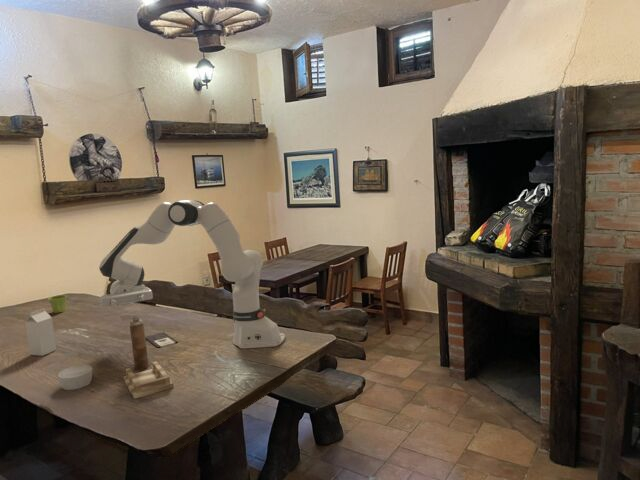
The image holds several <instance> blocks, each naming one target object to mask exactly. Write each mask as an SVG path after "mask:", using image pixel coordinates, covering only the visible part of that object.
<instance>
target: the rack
mask: <svg viewBox="0 0 640 480" xmlns="http://www.w3.org/2000/svg"><path fill="white" fill-rule="evenodd" d="M125 373H126V374H125V376H123V381H124V383H125V385H126V386H127V389H128V391H129V392H130V394H131V395H132V397H133V399H138V398H141V397H146V396H149V395H152V394H156V393H159V392H163V391H166V390H169V389H173V388H174V387H175V385H174V382H173V381H172V380H171V378H170V376H169V375H168V374H167V372H166V371H165V370H164V368H163V367H162V366H161V365H160V364H159V362H158V361H153V362H152V369H147V370H144V371H140V372H136V373H134V372H133V371H132V369H131V368H130V367H129V368H126V369H125Z"/></svg>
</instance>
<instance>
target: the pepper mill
mask: <svg viewBox="0 0 640 480" xmlns="http://www.w3.org/2000/svg"><path fill="white" fill-rule="evenodd" d="M129 323H130V325H129V330H130V339H131V350H132V356H133V364H134V369H135V371H137V370H139V371H141V370H144V369H145V370H146V369H147V368H149V358H148V349H147V342H146V339H145V337H146V333H145V323H144V322H143V319H142V318H140V316H138V315H134V316H133V317H132V320H131V321H130V322H129Z"/></svg>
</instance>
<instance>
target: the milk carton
mask: <svg viewBox="0 0 640 480" xmlns="http://www.w3.org/2000/svg"><path fill="white" fill-rule="evenodd" d="M24 323H25V329H26V330H25V331H26V336H27V343H28V349H29V355H31V356H41V357H43V356H45V355H49V354H50V353H52V352H55V351H56V350H57V345H56V340H55V339H56V337H55V332H54V325H53V317H52V316H51V315H50V314H49V313H48V312H47V311H46V309H45V307H44V308H40V309H37V310H35V311H32V312H29V316H28V317H27V318H26V320H25V321H24Z"/></svg>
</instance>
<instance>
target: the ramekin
mask: <svg viewBox="0 0 640 480" xmlns="http://www.w3.org/2000/svg"><path fill="white" fill-rule="evenodd" d="M92 376H93V367H92V365H89V364H79V365H74V366H71V367H67V368H65V369H63V370H60V372H59V373H58V374H57V378H58V380H59V383H60V385H61V388H62V389H64V390H65V391H75V390H80V389H83V388H84V387H87V386H88V385H90V384H91V382H92V378H93V377H92Z"/></svg>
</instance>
